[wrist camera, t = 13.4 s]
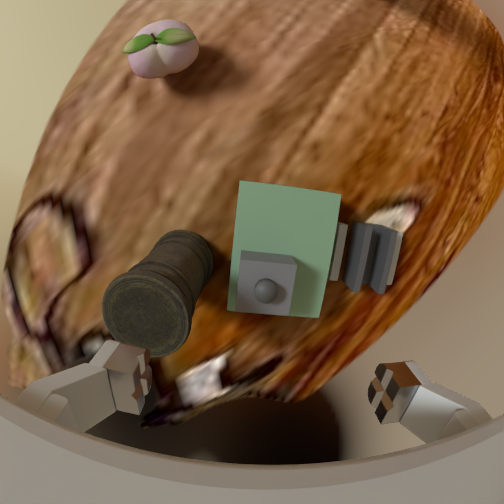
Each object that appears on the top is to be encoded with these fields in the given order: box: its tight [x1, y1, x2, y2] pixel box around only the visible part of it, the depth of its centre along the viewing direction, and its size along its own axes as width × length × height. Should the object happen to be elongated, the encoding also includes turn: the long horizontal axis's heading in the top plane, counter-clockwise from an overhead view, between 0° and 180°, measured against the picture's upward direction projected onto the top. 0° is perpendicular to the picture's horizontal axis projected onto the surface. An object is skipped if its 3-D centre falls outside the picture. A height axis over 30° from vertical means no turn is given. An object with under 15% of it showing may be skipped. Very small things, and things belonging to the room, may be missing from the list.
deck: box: [227, 180, 403, 318], centre depth 35 cm, size 16×24×11 cm, turn 84°
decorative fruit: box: [122, 19, 199, 79], centre depth 28 cm, size 9×8×10 cm
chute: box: [342, 221, 398, 294], centre depth 38 cm, size 5×9×5 cm, turn 174°
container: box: [102, 230, 213, 357], centre depth 31 cm, size 9×9×18 cm
